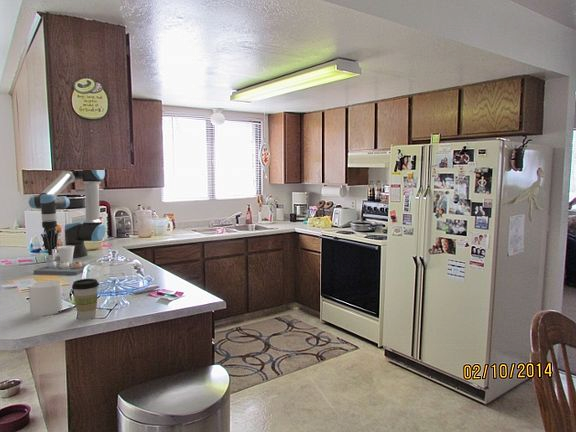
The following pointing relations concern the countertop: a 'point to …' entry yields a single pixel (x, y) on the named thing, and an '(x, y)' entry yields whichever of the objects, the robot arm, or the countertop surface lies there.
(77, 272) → the console
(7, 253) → the countertop surface
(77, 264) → the button three
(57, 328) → the countertop surface
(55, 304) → the cup
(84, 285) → the coffee cup
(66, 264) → the button two
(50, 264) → the button one
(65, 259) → the cup
